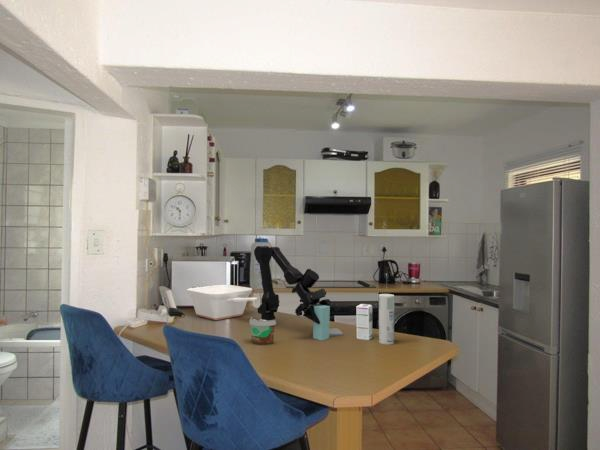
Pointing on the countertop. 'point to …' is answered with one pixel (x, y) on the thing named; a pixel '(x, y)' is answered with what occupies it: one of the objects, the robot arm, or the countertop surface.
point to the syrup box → (364, 321)
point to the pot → (220, 301)
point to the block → (321, 322)
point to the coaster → (335, 332)
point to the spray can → (386, 318)
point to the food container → (262, 331)
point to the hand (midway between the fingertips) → (323, 322)
